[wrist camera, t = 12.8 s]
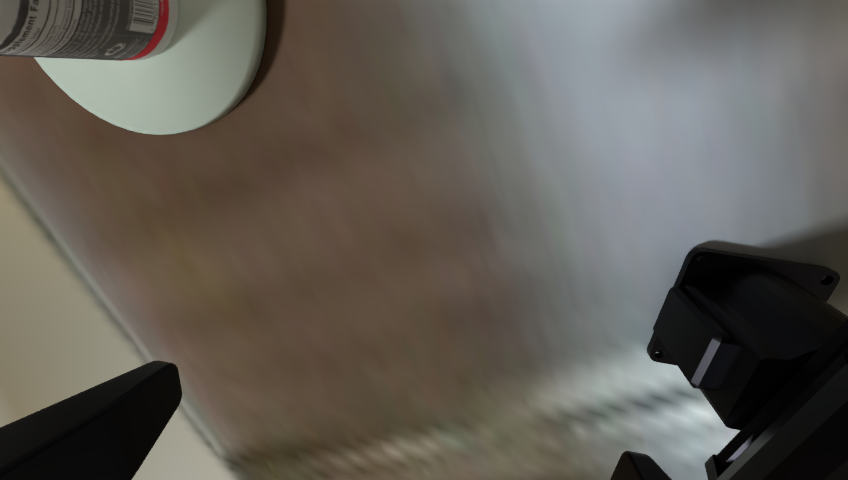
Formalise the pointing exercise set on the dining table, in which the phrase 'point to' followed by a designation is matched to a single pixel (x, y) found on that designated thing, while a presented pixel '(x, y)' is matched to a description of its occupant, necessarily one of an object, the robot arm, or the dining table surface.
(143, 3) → the pill bottle
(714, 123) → the dining table surface
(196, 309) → the dining table surface
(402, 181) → the dining table surface
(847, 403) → the robot arm
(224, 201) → the dining table surface
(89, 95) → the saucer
